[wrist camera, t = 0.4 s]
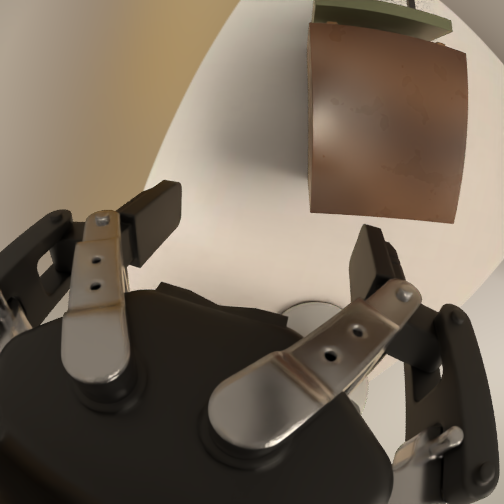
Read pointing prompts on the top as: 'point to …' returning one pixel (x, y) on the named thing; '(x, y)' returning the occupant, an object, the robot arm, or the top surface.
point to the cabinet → (384, 124)
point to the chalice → (312, 317)
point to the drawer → (382, 17)
